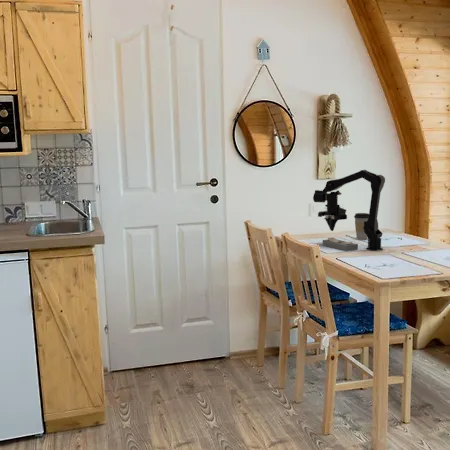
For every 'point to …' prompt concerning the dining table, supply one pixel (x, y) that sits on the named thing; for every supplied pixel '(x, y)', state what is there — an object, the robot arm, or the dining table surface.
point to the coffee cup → (360, 225)
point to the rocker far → (333, 240)
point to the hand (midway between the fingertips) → (332, 230)
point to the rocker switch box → (340, 245)
